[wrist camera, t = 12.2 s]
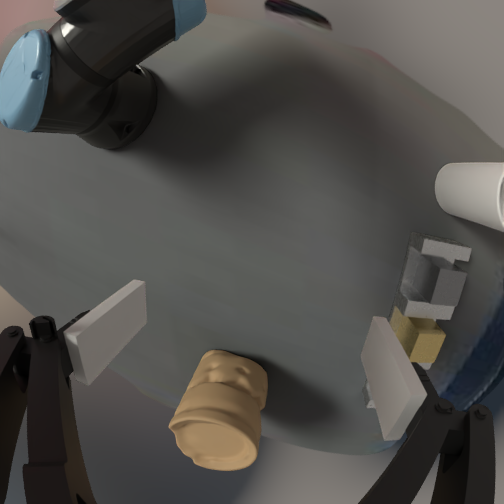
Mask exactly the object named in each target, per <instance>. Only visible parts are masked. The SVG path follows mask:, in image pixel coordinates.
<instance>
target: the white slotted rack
mask: <svg viewBox="0 0 504 504" xmlns="http://www.w3.org/2000/svg"><path fill="white" fill-rule="evenodd" d="M471 249H472V248H470V247H468V246H466V245H464V244H462V243H459V242H457V241H454V240H450V239H445V238H440V237H435V236H431V235H426V234H421V233H415V232H411V233H410V238H409V243H408V248H407V252H406V256H405V261H404V265H403V269H402V273H401V277H400V281H399V284H398V288H397V292H396V295H395V299H394V302H393V306H392V309H391V312H390V315H389V318H388V323H389V324H390V326H391V328H392V330H393V331H394V333H395V335H396V334H397V331H398V328H399V325H400V322H401V319H402V316H405V317H416V318H429V319H433V320H434V321H435V322H436V319H443V320H450V319H451V317H452V314H453V311H454V308H455V307H457V305H458V302H459V299H460V296H461V293H462V290H463V286H464V283H465V280H466V276H467V272H465V271H464V270H462V269H460V268H459V267H457V266H456V265H454V261H455V259H457V260H462V261H468V262H469V258H470V254H471ZM418 364H419V365H420V366H421V367H423V369H430V367H431V365H432V363H418ZM362 393H363V397H364V401H365V405H366V408H376V407H375V404H374V400H373V397H372V393H371V390H370V387H369V383H368V380H367V379H366V381H365V384H364V386H363V388H362Z"/></svg>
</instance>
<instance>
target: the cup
mask: <svg viewBox="0 0 504 504" xmlns="http://www.w3.org/2000/svg"><path fill="white" fill-rule="evenodd" d="M435 195H436V199H437V201H438V203H439V205H440V207H441V208H442V209H443V210H444V211H445V212H446V213H448V214H451V215H454V216H457V217H460V218H463V219H466V220H469V221H473V222H476V223H479V224H481V225H484V226H487V227H490V228H493V229H496V230H499V231H501V232H504V163H494V162H473V163H449V164H446V165H445V166H443V167H442V168H441V169H440V171H439V172H438V174H437V177H436V180H435Z"/></svg>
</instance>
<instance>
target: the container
mask: <svg viewBox="0 0 504 504" xmlns="http://www.w3.org/2000/svg"><path fill="white" fill-rule="evenodd" d="M267 390H268V378H267V372H265V371H264V369H263V368H262V367H261V366H260V365H259V364H257V363H256V362H254V361H252V360H250V359H247V358H244V357H240V356H237V355H234V354H232V353H229V352H227V351H224V350H210V351H208V352H206V353H205V354H204V356H203V357H202V359H201V361H200V364H199V365H198V367H197V369H196V371H195V373H194V375H193V378H192V380H191V381H190V383H189V385H188V388H187V391H186V392H185V394H184V395H183V398H182V400H181V402H180V404H179V406H178V408H177V410H176V412H175V416H174V417H173V418H172V420H171V422H170V424H169V428H170V429H171V430H172V431H173V432H174V434H175V436H176V442H177V445H178V447H179V448H180V449H181V450H182V452H183V453H184V454H185V455H187V456H188V457H191V458H192V459H193V461H194V463H195V464H196V465H199V466H202V467H205V468H209V469H213V470H222V471H232V470H239V469H243V468H245V467H248V466H250V465H251V464H252V463H253V462H254V461H255V460H256V458H257V455H258V449H259V440H260V435H261V416H260V410H262V409H263V408H264V407H265V404H266V397H267Z"/></svg>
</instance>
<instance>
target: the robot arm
mask: <svg viewBox="0 0 504 504" xmlns="http://www.w3.org/2000/svg"><path fill="white" fill-rule="evenodd" d="M53 9H54V10H55V11H56V12H57V13H58V14H59V15H61V16H62V18H61V19H60V20H59V21H57V22H56V23H55V24H54V25H53V26H52V27H51V28H50V29H49V30H48V31H47V32H46V31H45V30H43V29H38V30H37V29H34V30H31V31H30V32H27V33H25V34H24V35H23V36H22V37H21V38H20V39H19V40H18V41H17V42H16V43H15V45H14V46H13V48H12V49H11V51H10V53H9V54H8V56H7V58H6V60H5V63H4V65H3V67H2V70H1V73H0V121H1V122H2V124H3V125H4V126H6V127H7V128H9V129H16V130H22V131H24V132H46V133H64V134H76V135H77V136H79V137H80V138H82V139H83V140H84V141H86V142H87V143H89V144H90V145H92V146H94V147H97V148H104V149H116V148H120V147H123V146H125V145H127V144H129V143H131V142H132V141H134V140H135V139H136V138H137V137H138V136H139V135H140V134H141V133H142V132H143V131H144V129H145V128H146V127H147V125H148V124H149V122H150V120H151V118H152V116H153V113H154V110H155V107H156V102H157V88H156V84H155V81H154V79H153V77H152V75H151V74H150V73H149V72H148V71H147V70H146V69H145V68H143V67H142V66H140V65H138V64H139V63H140V62H142V61H143V60H145V59H146V58H148V57H149V56H151V55H152V54H154V53H155V52H157V51H158V50H160V49H161V48H163V47H164V46H166V45H168V44H169V43H171V42H172V41H177V40H178V39H179V38H180V36H181V35H183V34H185V33H186V32H188V31H189V30H191V29H193V28H194V27H196V26H198V25H199V24H200V23H201V22H202V21H203V20H204V19H205V16H206V12H207V9H206V3H205V0H54V8H53ZM146 323H147V315H146V293H145V282H144V281H139V280H133V281H131V282H130V283H128V284H127V285H126V286H124V287H123V288H121V289H120V290H119V291H117V292H116V293H115V294H113V295H112V296H110V297H109V298H108V299H106V300H105V301H104V302H102V303H101V304H100V305H98V306H97V307H95V308H94V309H93V310H91V311H90V310H88V311H86V312H83V313H81V314H79V315H78V316H77V317H75V319H72V320H71V321H70V322H68V323H67V324H66V325H64V326H63V327H62V328H60V329H59V330H58V331H57V330H56V325H55V321H54V319H53V318H52V317H50V316H38V317H36V318H33V319H32V320H31V321H30V323H29V325H30V329H31V333H32V337H33V338H31V337H26V336H25V335H24V332H23V329H22V328H21V327H19V326H10V327H7V328H6V329H4V330H3V331H2V333H1V334H0V504H4V502H5V499H6V494H7V489H8V483H9V477H10V471H11V466H12V461H13V456H14V451H15V447H16V443H17V439H18V435H19V431H20V427H21V424H22V420H23V416H24V413H25V410H26V407H27V439H28V456H29V463H28V464H24V465H23V481H24V489H25V496H26V502H27V504H97V503H96V501H95V498H94V496H93V493H92V490H91V486H90V483H89V479H88V476H87V472H86V468H85V464H84V460H83V456H82V452H81V447H80V442H79V437H78V431H77V426H76V420H75V413H74V406H73V398H72V391H71V380H70V378H69V375H70V374H71V373H72V372H73V371H74V375H75V378H76V381H79V382H80V383H83V384H85V385H87V386H89V385H90V384H91V383H92V382H93V380H94V379H95V378H96V377H97V376H98V375H99V374H100V373H101V372H102V370H103V369H104V368H105V367H106V366H107V365H108V364H109V363H110V362H111V361H112V360H113V358H114V357H115V356H116V355H117V354H118V353H119V352H120V351H121V350H122V349H123V348H124V347H125V345H126V344H127V343H128V342H129V341H130V340H131V339H132V338H133V337H134V336H135V335H136V334H137V332H138V331H139V330H140V329H141V328H142V327H143V326H144V325H145V324H146ZM360 357H361V360H362V364H363V367H364V370H365V373H366V377H367V380H368V383H369V387H370V390H371V393H372V397H373V400H374V404H375V407H376V411H377V415H378V418H379V422H380V426H381V430H382V434H383V437H384V440H399V439H400V438H401V437H402V435H403V434H404V432H405V431H406V434H407V437H408V438H407V439H406V440H405V442H404V443H403V445H402V446H401V447H400V449H399V450H398V452H397V454H396V455H395V457H394V458H393V460H392V461H391V462H390V464H389V465H388V467H387V468H386V470H385V471H384V472H383V473H382V475H381V476H380V477H379V479H378V480H377V481H376V482H375V484H374V485H373V486H372V488H371V489H370V490H369V491H368V492H367V494H366V495H365V496H364V497H363V498H362V499H361V501H360V502H359V503H358V504H411V503H412V501H413V500H414V498H415V496H416V495H417V493H418V491H419V490H420V488H421V486H422V484H423V482H424V481H425V479H426V477H427V475H428V473H429V471H430V469H431V468H432V465H433V464H434V462H435V459H436V457H437V455H438V453H441V454H440V460H439V466H438V472H437V477H436V482H435V487H434V491H433V495H432V500H431V503H430V504H494V495H495V439H494V426H493V416H492V413H491V411H490V410H489V409H488V408H487V407H486V406H484V405H481V404H475V405H472V406H471V407H470V409H469V410H468V412H463V411H456V410H455V407H454V405H453V404H452V403H451V402H449V401H448V400H446V399H443V398H439V396H438V394H437V392H436V390H435V388H434V387H433V385H432V383H431V382H430V379H429V377H428V376H427V374H426V372H425V370H424V369H423V367H421V366H420V365H419V364H418V363H417V362H410V360H409V358H408V356H407V355H406V353H405V351H404V349H403V347H402V345H401V344H400V342H399V340H398V338H397V337H396V335H395V333H394V331H393V330H392V328H391V326H390V324H389V323H388V321H387V319H386V318H385V317H377V316H373V319H372V322H371V325H370V329H369V332H368V335H367V338H366V341H365V344H364V347H363V350H362V353H361V356H360Z"/></svg>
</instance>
